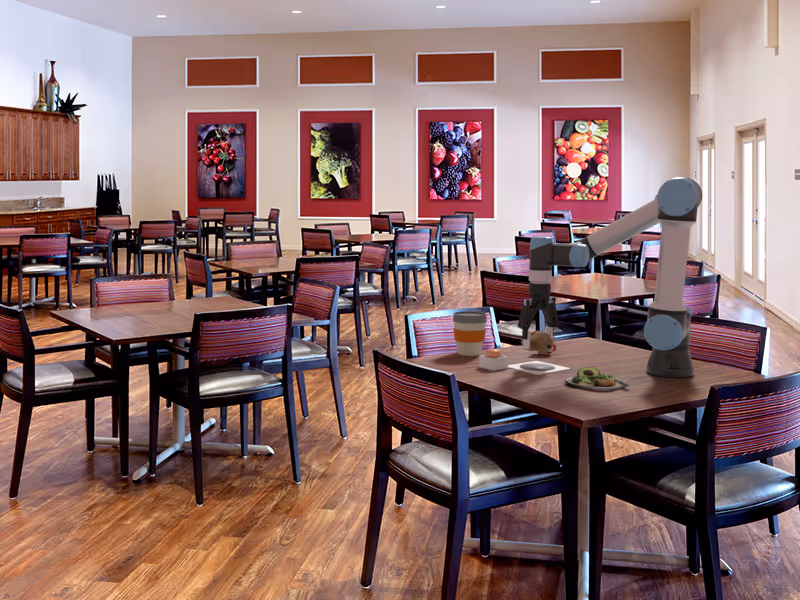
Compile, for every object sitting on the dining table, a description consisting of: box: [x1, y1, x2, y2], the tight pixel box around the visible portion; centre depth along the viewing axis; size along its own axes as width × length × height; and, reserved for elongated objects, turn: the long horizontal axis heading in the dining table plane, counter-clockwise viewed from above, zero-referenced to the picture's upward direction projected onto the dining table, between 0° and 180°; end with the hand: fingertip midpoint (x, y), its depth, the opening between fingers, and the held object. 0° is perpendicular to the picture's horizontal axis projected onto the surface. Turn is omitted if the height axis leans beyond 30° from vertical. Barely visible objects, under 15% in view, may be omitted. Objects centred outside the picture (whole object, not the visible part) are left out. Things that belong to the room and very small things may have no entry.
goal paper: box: [507, 360, 572, 376], centre depth 294 cm, size 16×16×1 cm
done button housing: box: [478, 354, 509, 371], centre depth 294 cm, size 7×7×4 cm
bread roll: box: [520, 330, 553, 352], centre depth 293 cm, size 10×10×8 cm
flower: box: [537, 331, 557, 356], centre depth 319 cm, size 10×9×8 cm
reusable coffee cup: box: [452, 310, 488, 357], centre depth 319 cm, size 13×13×15 cm
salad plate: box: [564, 366, 631, 392], centre depth 269 cm, size 19×18×5 cm
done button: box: [485, 348, 502, 358], centre depth 294 cm, size 5×5×3 cm
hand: (537, 347), depth 294 cm, fingers closed on bread roll, 10 cm apart
